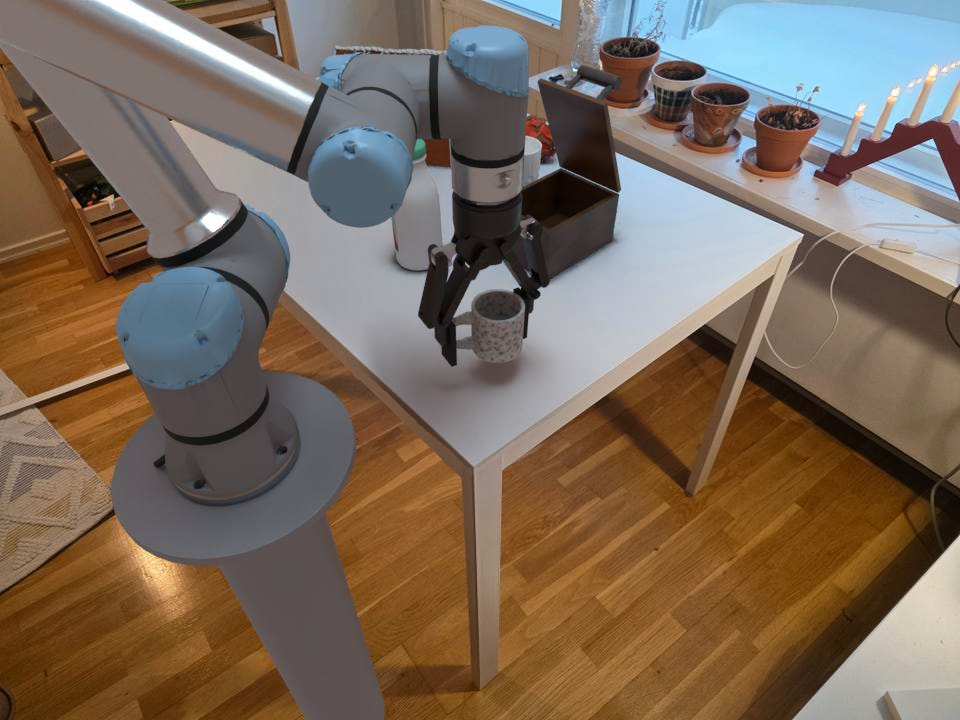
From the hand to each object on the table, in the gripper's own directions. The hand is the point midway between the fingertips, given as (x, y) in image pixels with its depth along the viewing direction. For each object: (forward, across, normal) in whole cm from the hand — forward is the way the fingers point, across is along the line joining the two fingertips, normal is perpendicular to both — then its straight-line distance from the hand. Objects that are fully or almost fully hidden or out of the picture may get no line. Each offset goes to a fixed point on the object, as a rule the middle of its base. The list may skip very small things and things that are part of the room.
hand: (484, 346), depth 84 cm
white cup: (+5, +29, +38) cm, 48 cm away
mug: (0, 0, 0) cm, 0 cm away
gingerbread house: (+5, +20, +68) cm, 71 cm away
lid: (-13, +30, +22) cm, 39 cm away
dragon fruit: (+5, +41, +50) cm, 65 cm away
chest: (+5, +25, +21) cm, 33 cm away
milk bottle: (+5, +4, +29) cm, 29 cm away
